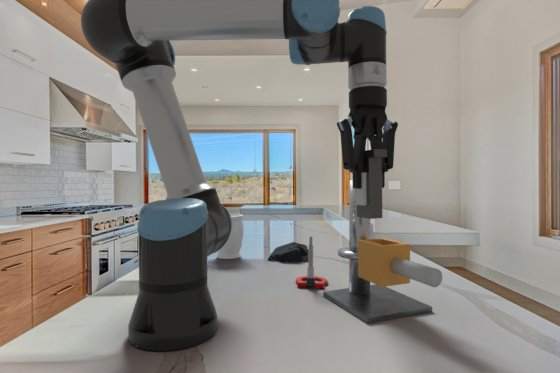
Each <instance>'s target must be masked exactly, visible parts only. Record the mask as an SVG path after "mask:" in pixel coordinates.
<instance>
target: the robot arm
mask: <svg viewBox="0 0 560 373" xmlns="http://www.w3.org/2000/svg"><path fill="white" fill-rule="evenodd" d="M340 13H341V7H340V0H87V2H86V4H85V5H84V6H83V9H82V12H81V16H80V26H81V30H82V34H83V37H84V38H85V40H86V42H87V44H88V45H89V47H90V48H92V50H93V51H95V52H96V53H97V54H99V55H100V56H101V57H102V58H105V59H107V60H108V61H110V62H111V63H113V64H114V65H115V67H116V69H117V72H118V75H119V78H120V81H121V84H122V86H123V88H124V89H127V90H128V91H130V92H132V94H133V97H134V100H135V102H136V106H137V108H138V111H139V115H140V117H141V120H142V124H143V125H144V126H143V127H144V129H145V132H146V134H147V138H148V141H149V144H150V147H151V150H152V152H153V156H154V160H155V161H156V165H157V167H158V171H159V173H160V177H161V179H162V182H163V185H164V189H165V190H166V197H165V200H164V199H159V200H155V201H151V202H148V203H146V204H144V205H143V206H142V207H141V209H140V210H139V213H138V223H137V232H138V234H137V235H138V282H139V283H138V294H137V298H136V301H135V304H134V307H133V310H132V313H131V315H130V319H129V323H128V327H127V329H128V335H127V336H128V338H127V339H128V342H129V341H130V342H129V343H130V344H131V345H132V346H133V345H134V346H133V347H135V346H137V347H138V348H137V347H136V348H137V349H140V348H141V349H140V350H144V349H145V351H150V350H154V351H153V352H168V351H178V350H182V349H188V348H190V347H195V346H197V345H200V344H201V343H203V342H205V341H207V340H209V339H211V337H213V336H214V335H215V334H216V333H217V331H218V314H217V311H216V306H215V304H214V301H213V298H212V295H211V293H210V289H209V286H208V257H210V255H212V254H215V253H218V251H219V250H220V249H221V248H222V247H223V246H224V245H225V243H226V242H227V241H228V239H229V237H230V235H231V232H232V218H231V215H230V214H231V213H230V212H229V209H228V208H227V207H226V206H225V205H223V204H222V203H221V201H220V198H219V195H218V192H217V189H216V187H215V186H213V185H212V184H209V183H208V182H206V178H205V176H204V172H203V170H202V167H201V166H202V165H201V163H200V160H199V158H198V155H197V151H196V149H195V146H194V142H193V141H192V137H191V135H190V131H189V129H188V125H187V122H186V120H185V116H184V113H183V110H182V108H181V105H180V102H179V99H178V96H177V94H176V90H175V88H174V85H173V82H174V80H175V78H176V76H177V72H176V69H175V65H176V64H175V63H176V53H175V49H174V46H173V44H172V43H171V41H227V40H228V41H230V40H233V41H234V40H235V41H236V40H237V41H238V40H241V41H242V40H243V41H245V40H288V50H289V52H288V53H289V60H290V62H291V63H292V64H293V65H302V66H303V65H304V66H311V65H319V64H332V63H333V64H335V63H346V62H347V64H348V65H347V67H348V68H347V69H348V71H347V72H348V76H347V77H348V82H347V84H348V85H347V86H348V87H347V88H348V89H349V92H348V108H349V113H348V117H346V118H344V119H340V120H338V121H337V122H336V126H337V128H338V130H339V134H340V143H341V144H340V145H341V154H342V156H341V157H342V165H343V169H344V170H346V171H348V172H349V173H350V174H352V180H353V188H356V205H367V191H366V173H362V171H363V164H364V156H365V151H366V145H367V139H368V141H369V144H370V150H372V149H387V157H384V158H382V189H384V188H385V186H386V185H385V184H386V183H385V180H386V179H385V174H386V173H388V172H389V171H390V170H392V169H393V168H394V161H395V160H394V156H395V140H396V132H397V129H398V127H399V123H398V122H397V121H391V120H390V119H388V116H387V115H388V114H386V108H387V106H388V90H387V88H386V86H387V81H388V80H387V33H388V32H387V26H386V17H385V13H384V11H383V10H382V9H381V8H380V7H377V6H372V5H367V6H366V5H365V6H362V7H360V8H355V9H353V10H351V12H349V14H348V15H347V19H346V21H344V22H339V18H340V15H341V14H340ZM352 128H353V130H352ZM155 350H156V351H155Z"/></svg>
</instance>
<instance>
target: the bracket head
mask: <svg viewBox="0 0 560 373" xmlns="http://www.w3.org/2000/svg"><path fill="white" fill-rule="evenodd" d="M358 277H360V278H363V279H365V280H367V281H369V282H370V283H372V284H373V285H378V286H381V287H393V286H398V285H399V286H400V285H407V284H411V280H412V281H416V282H418V283H422V285H426V286H429V287H432V288H437V287H439V286H440V285H441V283H443V282H442V281H443V273H442V270H440V269H438V268H436V267H432V266H428V265H425V264H422V263H419V262H415V261H411V243H406V242H403V241H399V240H394V239H391V238H386V237H380V238H374V239H365V240H358Z"/></svg>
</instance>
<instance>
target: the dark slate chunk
mask: <svg viewBox="0 0 560 373" xmlns="http://www.w3.org/2000/svg"><path fill="white" fill-rule="evenodd" d="M308 252H309V248H308V246H307V245H306V244H303V243H298V242H296V241H292V242H289V243H286V244H282V245H280V246H277V247H275V249H273V251H272V252H271V253H270V255H269V257H268V258H267V261H269V262H273V263H274V262H275V263H278V262H279V263H308Z"/></svg>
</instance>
